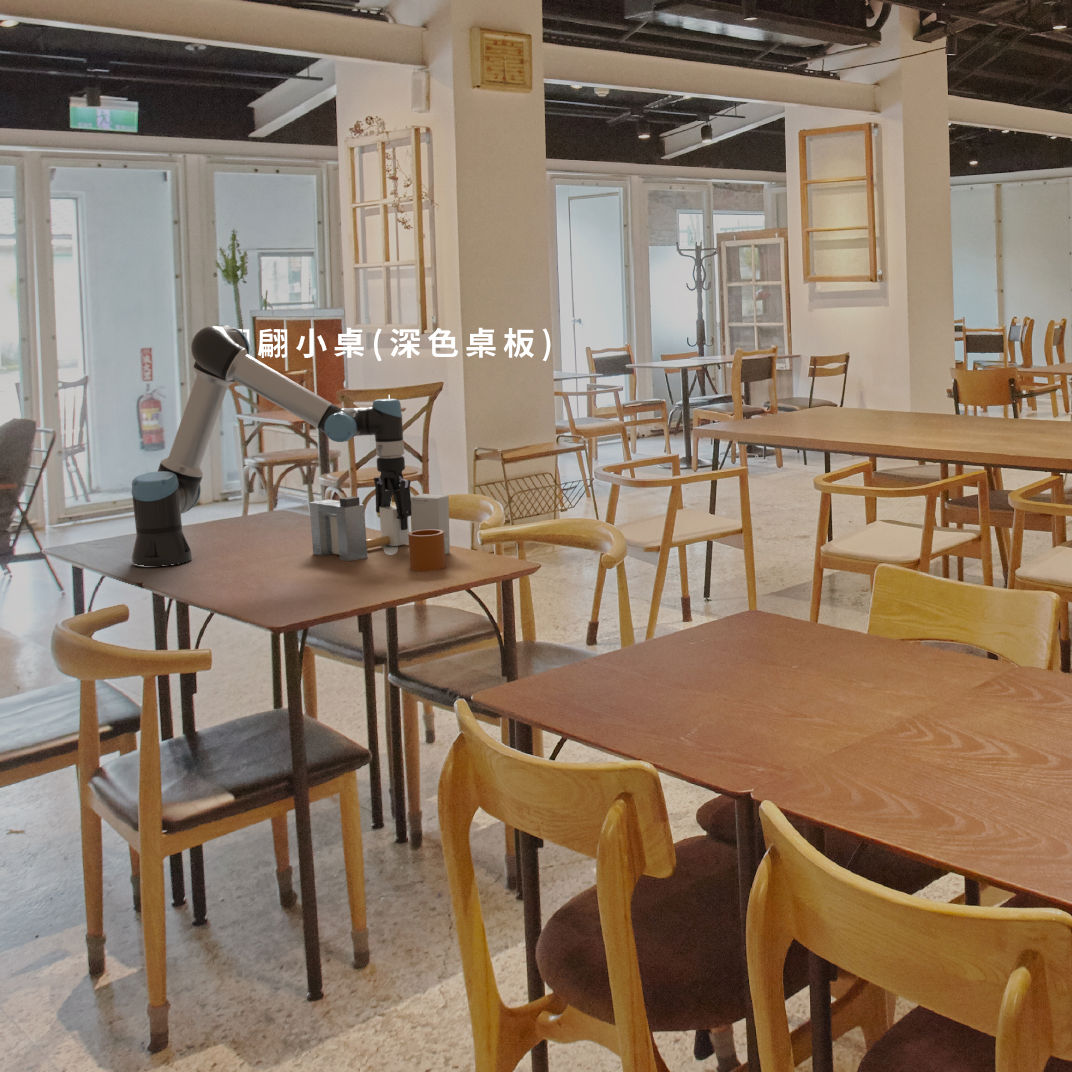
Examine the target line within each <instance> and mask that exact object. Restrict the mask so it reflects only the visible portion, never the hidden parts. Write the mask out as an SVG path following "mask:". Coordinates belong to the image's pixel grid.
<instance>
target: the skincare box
mask: <svg viewBox="0 0 1072 1072" xmlns="http://www.w3.org/2000/svg"><path fill="white" fill-rule="evenodd" d="M449 498H450V497H449V495H445V494H436V493H435V494H434V493H432V494H431V493H420V494H416V495H412V496H411V514H412V516H411V532H412V531H417V530H426V529H437V530H442V531H444V544H445V556H446V555H448V554H450V553H451V552H450V551H451V546H450V543H451V542H450V541H451V540H450V508H449V507H450V506H449V505H450V504H449V502H450V501H449V500H450V499H449Z"/></svg>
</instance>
